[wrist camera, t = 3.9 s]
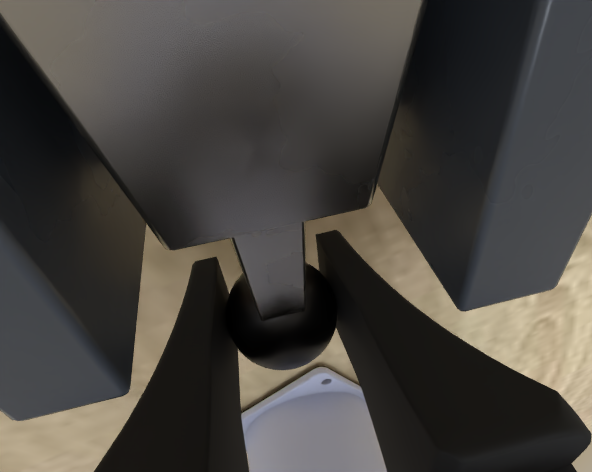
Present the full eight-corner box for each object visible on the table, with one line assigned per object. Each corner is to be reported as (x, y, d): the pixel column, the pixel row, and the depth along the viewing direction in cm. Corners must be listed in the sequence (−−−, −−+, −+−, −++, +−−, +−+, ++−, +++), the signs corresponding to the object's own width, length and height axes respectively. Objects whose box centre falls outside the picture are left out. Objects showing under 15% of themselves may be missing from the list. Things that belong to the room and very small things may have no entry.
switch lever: (319, 269, 13) (346, 362, 12) (227, 291, 13) (244, 388, 12) (366, -298, 3) (584, -84, 2) (-58, -251, 3) (-175, 45, 1)
